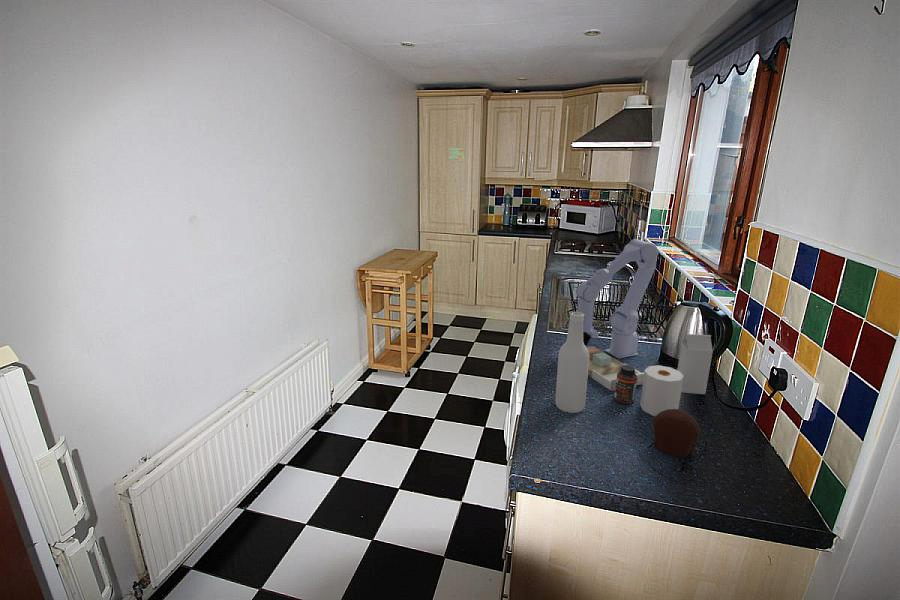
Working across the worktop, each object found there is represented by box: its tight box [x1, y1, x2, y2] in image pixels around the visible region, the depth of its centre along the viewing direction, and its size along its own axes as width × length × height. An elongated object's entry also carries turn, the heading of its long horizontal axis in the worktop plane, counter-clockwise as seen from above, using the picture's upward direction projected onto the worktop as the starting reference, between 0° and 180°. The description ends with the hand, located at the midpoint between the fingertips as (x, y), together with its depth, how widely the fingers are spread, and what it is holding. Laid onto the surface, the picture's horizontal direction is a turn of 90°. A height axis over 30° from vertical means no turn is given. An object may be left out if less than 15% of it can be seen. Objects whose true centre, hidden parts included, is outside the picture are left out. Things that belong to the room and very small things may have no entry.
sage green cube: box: [592, 352, 613, 367], centre depth 160 cm, size 4×4×3 cm
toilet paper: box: [639, 364, 684, 417], centre depth 134 cm, size 10×10×12 cm
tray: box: [591, 363, 644, 392], centre depth 152 cm, size 14×10×4 cm
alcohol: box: [554, 311, 589, 414], centre depth 133 cm, size 9×9×30 cm
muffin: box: [652, 408, 702, 458], centre depth 116 cm, size 12×11×10 cm
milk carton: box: [676, 333, 713, 395], centre depth 144 cm, size 7×7×19 cm
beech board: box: [588, 350, 625, 379], centre depth 163 cm, size 14×14×2 cm
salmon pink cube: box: [586, 346, 602, 360], centre depth 165 cm, size 4×4×3 cm
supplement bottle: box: [613, 364, 637, 405], centre depth 139 cm, size 6×6×11 cm
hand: (582, 349), depth 170 cm, fingers closed
